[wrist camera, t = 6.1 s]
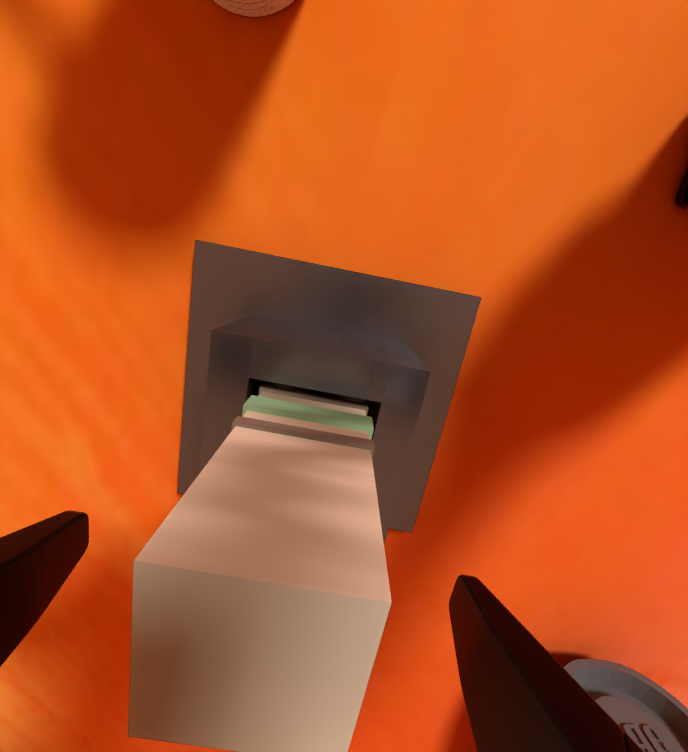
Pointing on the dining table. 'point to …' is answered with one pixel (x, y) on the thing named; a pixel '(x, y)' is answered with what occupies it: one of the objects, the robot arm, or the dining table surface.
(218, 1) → the mug
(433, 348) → the stand base
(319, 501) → the column
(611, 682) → the bluetooth speaker
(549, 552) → the dining table surface
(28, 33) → the dining table surface
